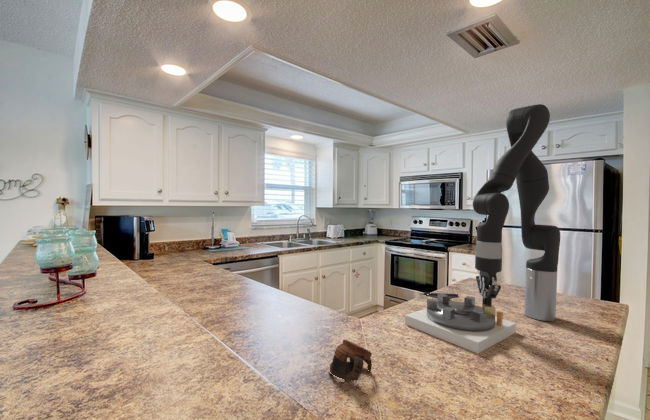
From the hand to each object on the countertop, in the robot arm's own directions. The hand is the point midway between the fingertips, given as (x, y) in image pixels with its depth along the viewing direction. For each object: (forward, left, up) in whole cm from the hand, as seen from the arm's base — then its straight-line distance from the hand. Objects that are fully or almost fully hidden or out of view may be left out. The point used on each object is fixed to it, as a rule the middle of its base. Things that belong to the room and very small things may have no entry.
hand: (486, 309), depth 98 cm
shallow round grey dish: (+7, -5, -3) cm, 9 cm away
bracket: (-16, -24, -7) cm, 30 cm away
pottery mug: (+54, -5, -7) cm, 54 cm away
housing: (+7, -5, -6) cm, 11 cm away
